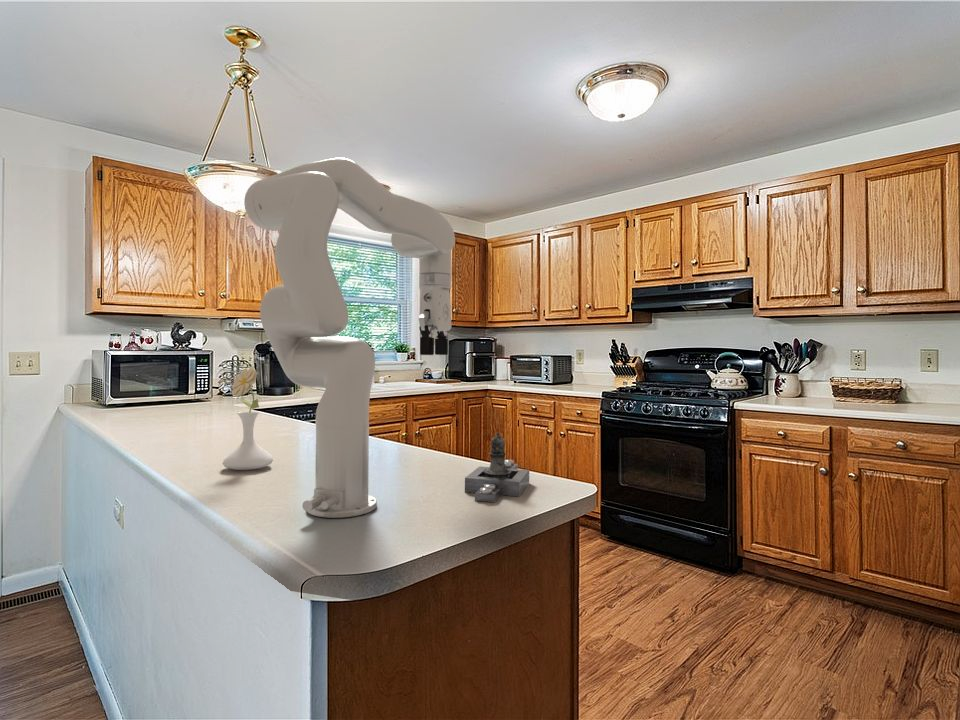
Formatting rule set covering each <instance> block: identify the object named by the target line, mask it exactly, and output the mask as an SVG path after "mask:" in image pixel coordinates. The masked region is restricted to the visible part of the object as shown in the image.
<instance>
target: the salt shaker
mask: <svg viewBox="0 0 960 720" xmlns="http://www.w3.org/2000/svg"><path fill="white" fill-rule="evenodd" d="M490 444H491V445H490V446H491V447H490V452H489V455H490V463H489V466H488V467H489V468H488V469H486V470H484V473H485V476H486V477H491V478H505V479H509V476H510V473H511V471H510V470H508V469H506V467H505V460H506V459H505V457H506V455H507V453H506V452H505V439H504V437H502V436H500V433H499V432H496V435H495V436H494V437H492V438H491V441H490Z"/></svg>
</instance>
